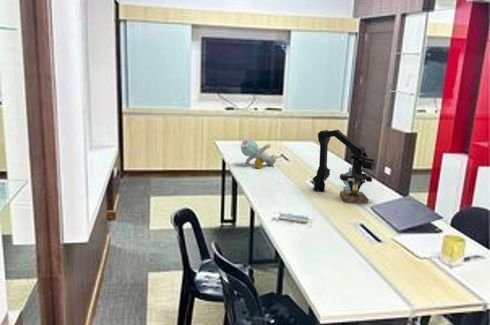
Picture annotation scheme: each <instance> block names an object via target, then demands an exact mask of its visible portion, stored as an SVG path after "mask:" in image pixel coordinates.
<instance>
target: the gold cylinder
mask: <svg viewBox="0 0 490 325" xmlns="http://www.w3.org/2000/svg"><path fill="white" fill-rule="evenodd" d="M358 184H359V181H358V182H356V181H355V180H352V190H351V195H352V196H357V192H359V191H358Z"/></svg>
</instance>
